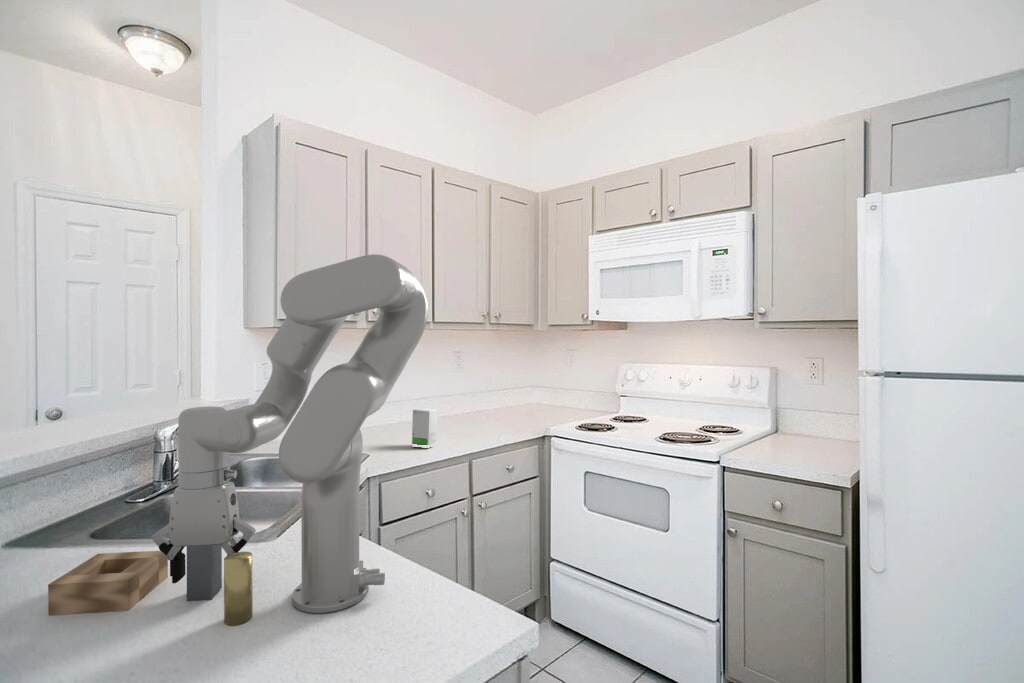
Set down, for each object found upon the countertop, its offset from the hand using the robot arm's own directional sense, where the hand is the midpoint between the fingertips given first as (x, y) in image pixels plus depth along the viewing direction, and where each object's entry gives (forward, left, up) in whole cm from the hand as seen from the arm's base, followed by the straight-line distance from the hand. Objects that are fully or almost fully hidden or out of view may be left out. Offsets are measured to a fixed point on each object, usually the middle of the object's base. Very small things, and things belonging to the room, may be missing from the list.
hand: (204, 577), depth 90 cm
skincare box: (-33, -118, -3) cm, 123 cm away
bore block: (+16, -2, -3) cm, 16 cm away
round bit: (-9, +9, -3) cm, 13 cm away
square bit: (0, 0, -3) cm, 3 cm away
